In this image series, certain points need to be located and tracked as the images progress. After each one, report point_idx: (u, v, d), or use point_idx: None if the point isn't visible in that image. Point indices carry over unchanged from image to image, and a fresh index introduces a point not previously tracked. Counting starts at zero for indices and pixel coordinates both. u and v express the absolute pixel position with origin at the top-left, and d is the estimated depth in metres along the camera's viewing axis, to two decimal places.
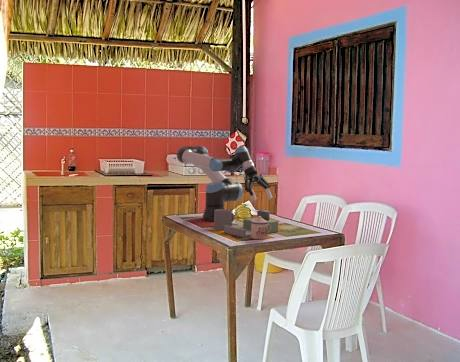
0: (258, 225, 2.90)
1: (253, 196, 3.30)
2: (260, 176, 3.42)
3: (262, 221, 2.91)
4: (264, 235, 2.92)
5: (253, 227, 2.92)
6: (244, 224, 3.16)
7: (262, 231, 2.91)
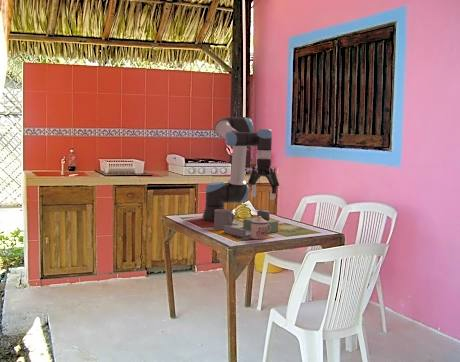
0: (258, 225, 2.90)
1: None
2: None
3: (262, 221, 2.91)
4: (264, 235, 2.92)
5: (253, 227, 2.92)
6: (244, 224, 3.16)
7: (262, 231, 2.91)
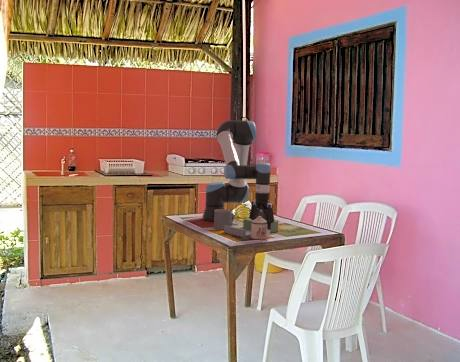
0: (259, 225, 2.90)
1: None
2: None
3: (262, 221, 2.91)
4: (264, 235, 2.92)
5: (253, 227, 2.92)
6: (244, 224, 3.16)
7: (263, 232, 2.91)
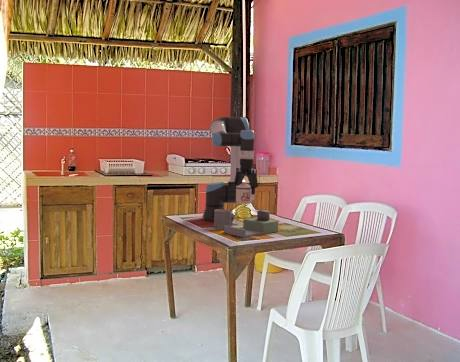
0: (243, 190, 2.99)
1: None
2: None
3: (246, 186, 3.00)
4: (248, 200, 3.00)
5: (238, 192, 3.00)
6: (244, 224, 3.16)
7: (247, 196, 3.00)
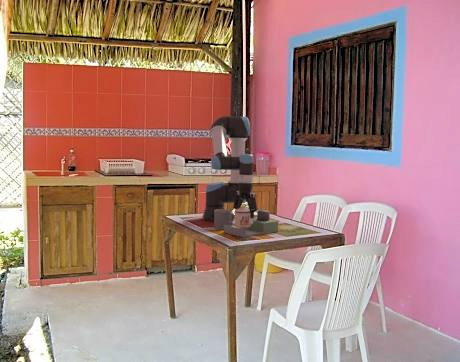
0: (242, 214, 3.00)
1: None
2: (251, 195, 3.00)
3: (245, 210, 3.01)
4: (247, 224, 3.02)
5: (237, 216, 3.02)
6: None
7: (246, 220, 3.01)
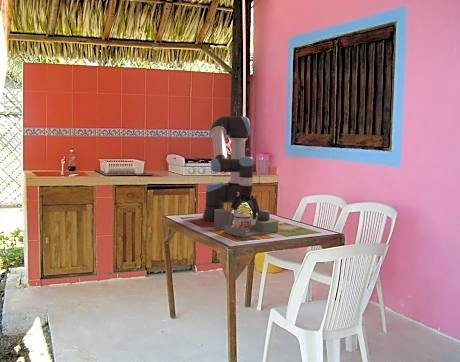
0: (241, 219, 3.01)
1: None
2: None
3: (244, 215, 3.02)
4: (246, 229, 3.02)
5: (236, 221, 3.03)
6: None
7: (245, 225, 3.02)
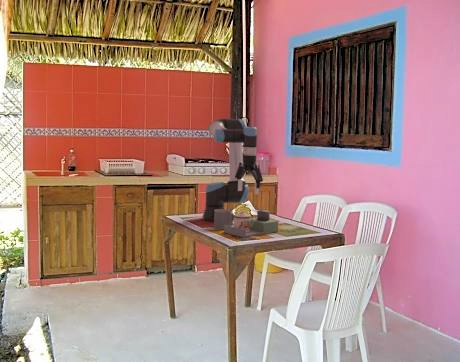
0: (241, 219, 3.01)
1: None
2: (255, 166, 3.04)
3: (244, 215, 3.02)
4: (246, 229, 3.02)
5: (236, 221, 3.03)
6: None
7: (245, 225, 3.02)
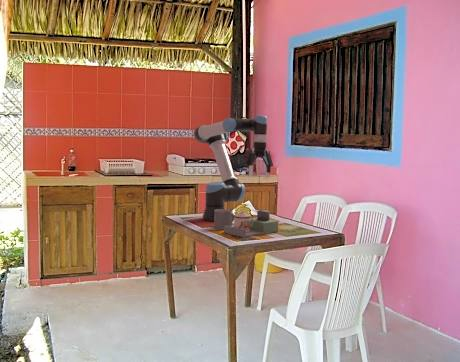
0: (241, 219, 3.01)
1: None
2: None
3: (244, 215, 3.02)
4: (246, 229, 3.02)
5: (236, 221, 3.03)
6: None
7: (245, 225, 3.02)
